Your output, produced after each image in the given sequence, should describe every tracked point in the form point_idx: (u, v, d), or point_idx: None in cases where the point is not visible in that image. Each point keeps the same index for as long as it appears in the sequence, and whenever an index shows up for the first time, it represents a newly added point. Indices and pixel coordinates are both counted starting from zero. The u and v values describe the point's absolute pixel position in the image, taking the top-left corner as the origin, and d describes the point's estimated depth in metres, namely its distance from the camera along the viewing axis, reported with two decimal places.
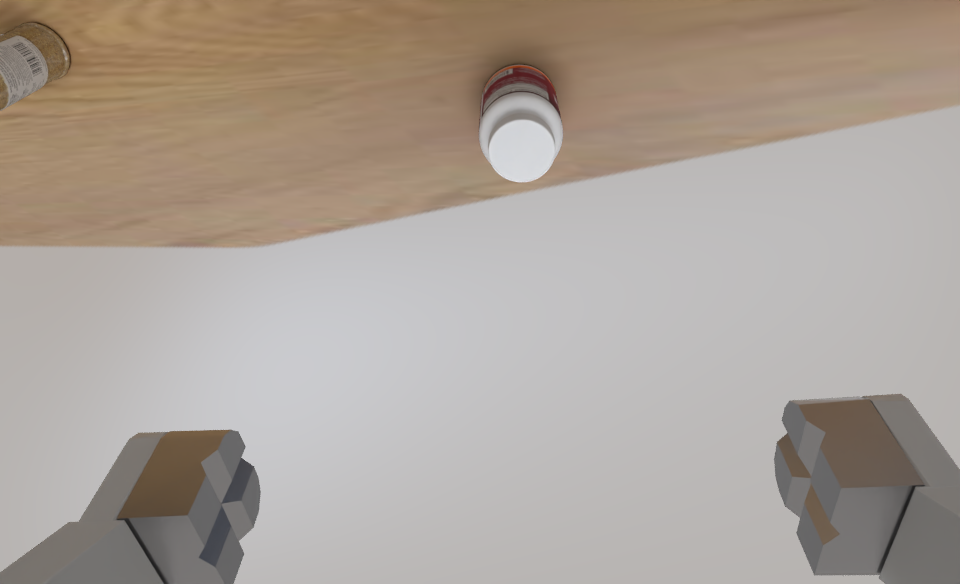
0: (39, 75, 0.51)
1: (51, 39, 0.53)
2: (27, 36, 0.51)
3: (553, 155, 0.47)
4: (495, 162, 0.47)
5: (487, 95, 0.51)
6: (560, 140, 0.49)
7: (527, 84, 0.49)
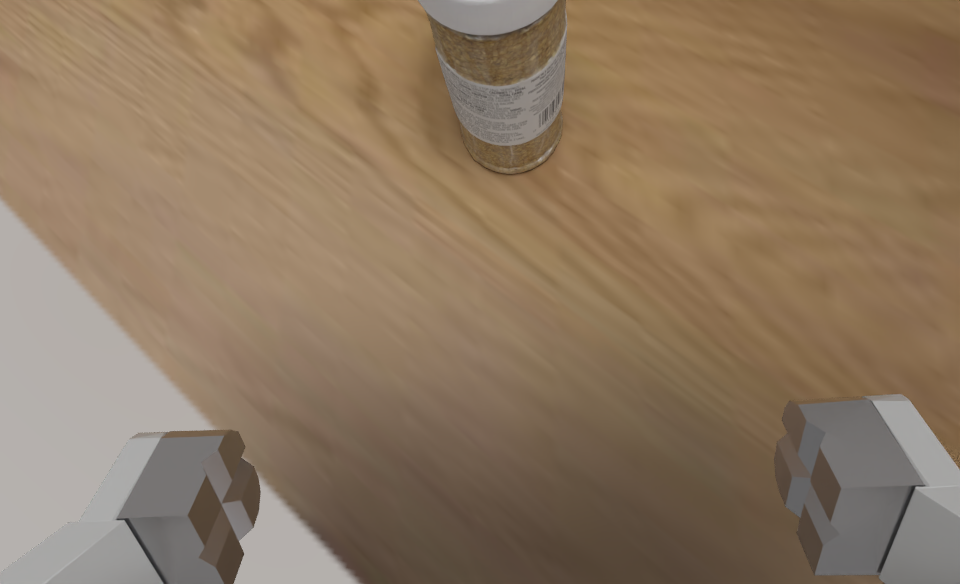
0: (535, 125, 0.25)
1: (559, 122, 0.29)
2: None
3: None
4: None
5: None
6: None
7: None
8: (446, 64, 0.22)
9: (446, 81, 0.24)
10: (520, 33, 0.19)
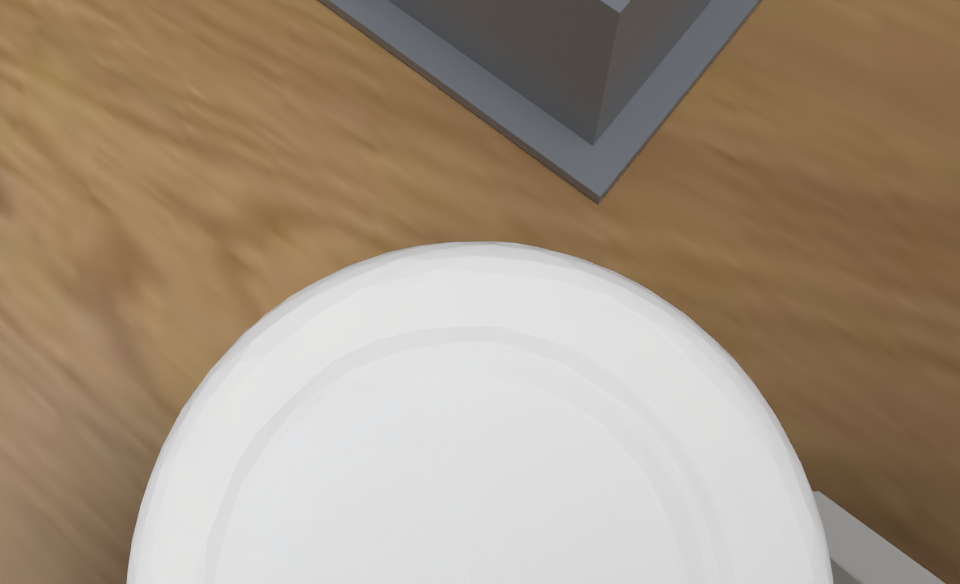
0: None
1: None
2: None
3: None
4: None
5: None
6: None
7: None
8: None
9: None
10: None
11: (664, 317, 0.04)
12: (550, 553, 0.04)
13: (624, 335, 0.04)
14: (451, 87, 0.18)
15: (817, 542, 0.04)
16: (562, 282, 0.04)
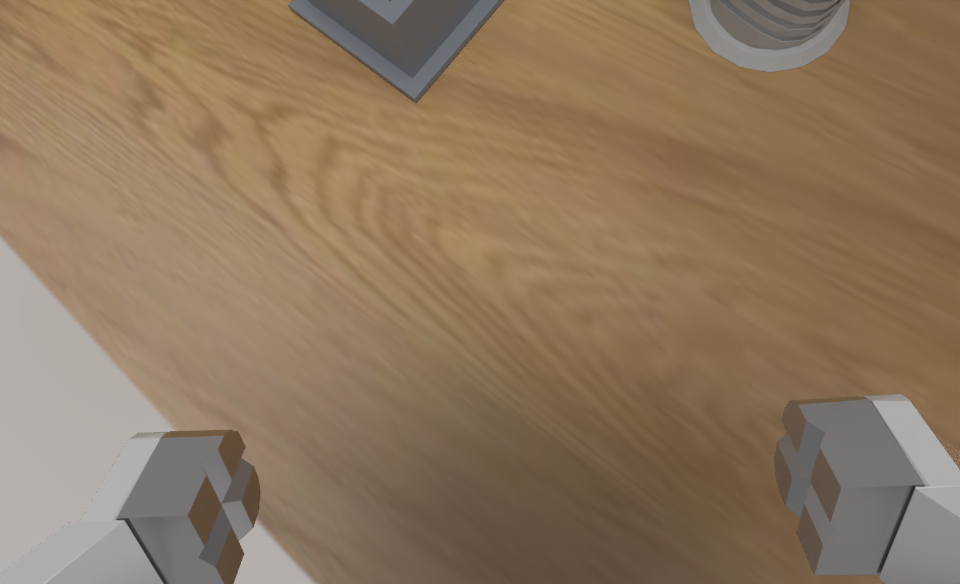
0: None
1: None
2: None
3: None
4: None
5: None
6: None
7: None
8: None
9: None
10: None
11: None
12: None
13: None
14: (355, 54, 0.44)
15: None
16: None
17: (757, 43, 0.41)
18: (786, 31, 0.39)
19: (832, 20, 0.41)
